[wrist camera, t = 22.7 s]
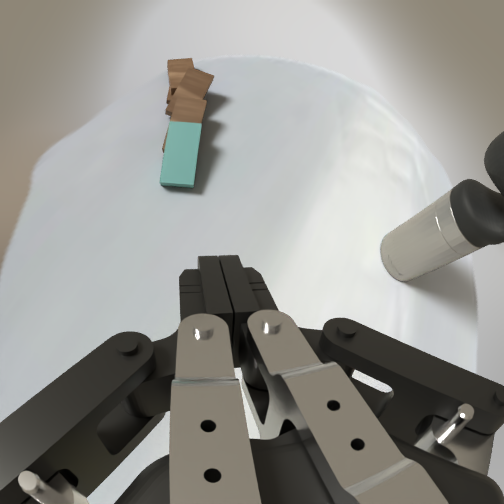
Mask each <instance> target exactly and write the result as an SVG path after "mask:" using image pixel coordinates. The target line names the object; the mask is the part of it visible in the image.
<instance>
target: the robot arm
mask: <svg viewBox="0 0 504 504" xmlns="http://www.w3.org/2000/svg"><path fill="white" fill-rule="evenodd" d="M484 164H485V168H486V171H487V173H488V175H489V176H490V178H491V180H492V181H493V183H494V184H495V186H496V187H497V188H498V190H499V191H500V192H501V193H497V192H495V191H493V190H491V189H489V188H487V187H486V186H484V185H483V184H481V183H480V182H478V181H476V180H472V179H467V180H464V181H462V182H460V183H459V184H458V185H456V186H455V187H454V188H453V189H451V190H450V191H449V192H447V193H446V194H444V195H443V196H442V197H440V198H439V199H438V200H436V201H435V202H433V203H432V204H431V205H429V206H428V207H426V208H425V209H423V210H422V211H421V212H419V213H418V214H416V215H415V216H413V217H412V218H410V219H409V220H407V221H406V222H405V223H403V224H402V225H400V226H398V227H397V228H396V229H394V230H393V231H391V232H390V233H388V234H387V235H386V236H385V237H384V238H383V240H382V243H381V257H382V261H383V264H384V266H385V268H386V269H387V271H388V272H389V273H390V275H392V276H393V277H394V278H395V279H397V280H400V281H409V280H412V279H414V278H417V277H419V276H422V275H424V274H426V273H429V272H431V271H433V270H436V269H438V268H440V267H442V266H445V265H447V264H449V263H451V262H453V261H456V260H458V259H460V258H462V257H464V256H466V255H468V254H470V253H472V252H474V251H476V250H478V249H481V248H482V247H485V246H487V245H492V244H493V245H495V244H500V243H502V242H504V132H502V133H501V134H500V135H499V136H497V137H496V138H495V139H494V140H493V141H492V142H491V144H490V145H489V147H488V148H487V151H486V153H485V158H484ZM179 290H180V317H181V322H180V324H179V327H178V329H177V331H176V332H175V333H173V334H172V335H171V336H169V337H167V338H164V339H161V340H157V341H154V342H152V341H151V340H150V339H149V338H148V337H147V336H146V335H144V334H142V333H138V332H122V333H118V334H116V335H114V336H112V337H111V338H109V339H108V340H107V341H105V342H104V343H103V344H101V345H100V346H99V347H97V348H96V349H95V350H93V351H92V352H91V353H89V354H88V355H87V356H85V357H84V358H83V359H81V360H80V361H79V362H78V363H76V364H75V365H74V366H72V367H71V368H70V369H68V370H67V371H66V372H65V373H63V374H62V375H61V376H59V377H58V378H57V379H55V380H54V381H53V382H52V383H50V384H49V385H48V386H46V387H45V388H44V389H43V390H41V391H40V392H39V393H37V394H36V395H35V396H34V397H32V398H31V399H30V400H28V401H27V402H26V403H25V404H23V405H22V406H21V407H20V408H18V409H17V410H16V411H14V412H13V413H12V414H11V415H9V416H8V417H7V418H6V419H4V420H3V421H2V422H1V423H0V504H89V502H88V500H87V497H88V496H89V495H90V494H91V493H92V492H93V491H94V490H95V489H96V488H97V487H98V486H99V485H100V484H101V483H102V482H103V481H104V480H105V479H106V478H107V477H108V476H109V475H110V474H111V473H112V472H113V471H114V470H115V469H116V468H117V467H118V466H119V465H120V464H121V463H122V461H123V460H124V459H125V458H126V457H127V456H128V455H129V454H130V453H131V452H132V451H133V450H134V449H135V448H136V447H137V446H138V445H139V444H140V443H141V441H142V440H143V439H144V438H145V437H146V436H147V435H148V434H149V433H150V432H151V431H152V430H153V429H154V427H155V426H156V425H157V424H158V423H159V422H160V421H161V420H162V419H163V417H164V415H165V413H166V412H167V411H170V446H169V454H168V455H166V456H164V457H162V458H160V459H158V460H156V461H155V462H153V463H152V464H150V465H149V466H148V467H146V468H145V469H144V470H143V471H142V472H141V473H140V474H139V475H138V476H137V477H136V479H135V480H134V481H133V482H132V483H131V485H130V486H129V487H128V488H127V489H126V490H125V492H124V493H123V494H122V495H121V496H120V497H119V499H118V500H117V501H116V502H115V503H114V504H504V496H503V493H502V491H501V489H500V487H499V486H498V485H497V483H496V482H495V481H494V480H492V479H491V478H490V477H488V476H487V474H488V469H489V464H490V458H491V453H492V447H493V440H494V434H495V432H496V431H497V430H498V429H499V428H500V427H501V426H502V425H503V424H504V386H503V385H501V384H498V383H496V382H494V381H491V380H489V379H486V378H484V377H482V376H479V375H477V374H474V373H472V372H470V371H467V370H465V369H463V368H460V367H458V366H456V365H453V364H451V363H449V362H446V361H444V360H442V359H439V358H437V357H435V356H432V355H430V354H428V353H425V352H423V351H421V350H419V349H416V348H414V347H412V346H409V345H407V344H405V343H403V342H400V341H398V340H396V339H394V338H391V337H389V336H387V335H385V334H382V333H380V332H378V331H376V330H373V329H371V328H369V327H367V326H365V325H362V324H360V323H358V322H356V321H353V320H351V319H347V318H333V319H330V320H328V321H327V322H326V323H325V324H324V327H323V330H314V329H305V328H300V327H297V325H296V324H295V322H294V320H293V319H292V318H291V317H290V316H288V315H287V314H285V313H283V312H280V311H279V310H278V308H277V306H276V304H275V302H274V300H273V298H272V296H271V294H270V292H269V290H268V288H267V286H266V284H265V282H264V280H263V278H262V276H261V274H260V273H259V272H257V271H256V270H255V269H254V268H252V267H247V268H243V266H242V264H241V261H240V259H239V256H238V255H223V256H198V269H186V270H184V271H183V272H182V274H181V275H180V277H179ZM239 367H241V370H242V388H243V391H244V393H245V396H246V399H247V401H248V404H249V407H250V409H251V412H252V414H253V417H254V420H255V422H256V425H257V427H258V430H259V434H260V439H249V435H248V429H247V423H246V417H245V411H244V405H243V399H242V393H241V387H240V382H239V379H236V378H235V372H234V368H239ZM355 369H356V370H358V371H360V372H362V373H364V374H366V375H368V376H370V377H372V378H374V379H376V380H379V381H381V382H383V383H385V384H387V385H389V386H390V387H391V388H392V391H391V392H387V393H385V392H381V391H379V390H377V389H375V388H373V387H370V386H368V385H366V384H364V383H362V382H360V381H358V380H356V379H354V378H352V374H353V372H354V370H355Z"/></svg>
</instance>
